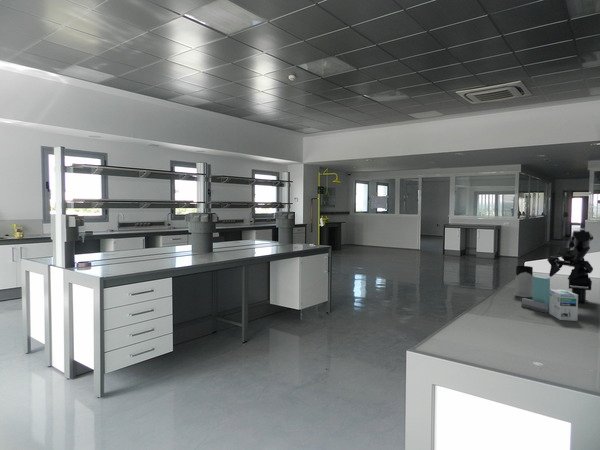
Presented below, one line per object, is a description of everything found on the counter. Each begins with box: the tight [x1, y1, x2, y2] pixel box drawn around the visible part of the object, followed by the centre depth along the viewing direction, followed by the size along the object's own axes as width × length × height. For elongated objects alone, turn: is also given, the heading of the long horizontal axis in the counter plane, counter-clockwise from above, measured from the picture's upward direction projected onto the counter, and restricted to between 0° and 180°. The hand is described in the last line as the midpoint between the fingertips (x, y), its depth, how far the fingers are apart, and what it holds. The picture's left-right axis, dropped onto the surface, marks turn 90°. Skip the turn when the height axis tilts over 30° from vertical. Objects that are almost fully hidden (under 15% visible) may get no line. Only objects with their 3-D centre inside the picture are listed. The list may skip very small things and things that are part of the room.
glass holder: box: [513, 265, 534, 298], centre depth 208 cm, size 9×14×15 cm, turn 158°
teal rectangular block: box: [531, 275, 551, 307], centre depth 177 cm, size 6×3×13 cm, turn 18°
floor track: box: [521, 297, 550, 314], centre depth 177 cm, size 12×9×4 cm
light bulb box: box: [548, 288, 579, 322], centre depth 162 cm, size 11×7×11 cm, turn 168°
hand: (559, 277), depth 180 cm, fingers open, 9 cm apart
